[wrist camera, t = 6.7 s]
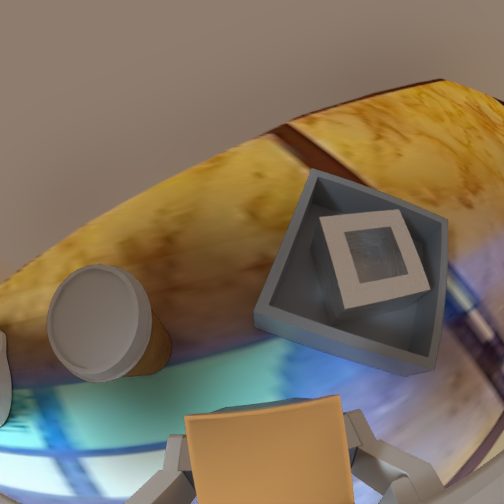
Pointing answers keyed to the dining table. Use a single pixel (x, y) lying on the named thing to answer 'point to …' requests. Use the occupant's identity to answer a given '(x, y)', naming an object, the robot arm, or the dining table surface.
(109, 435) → the dining table surface
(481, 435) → the dining table surface
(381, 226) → the inlet socket
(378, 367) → the walled box
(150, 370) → the disposable coffee cup
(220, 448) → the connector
